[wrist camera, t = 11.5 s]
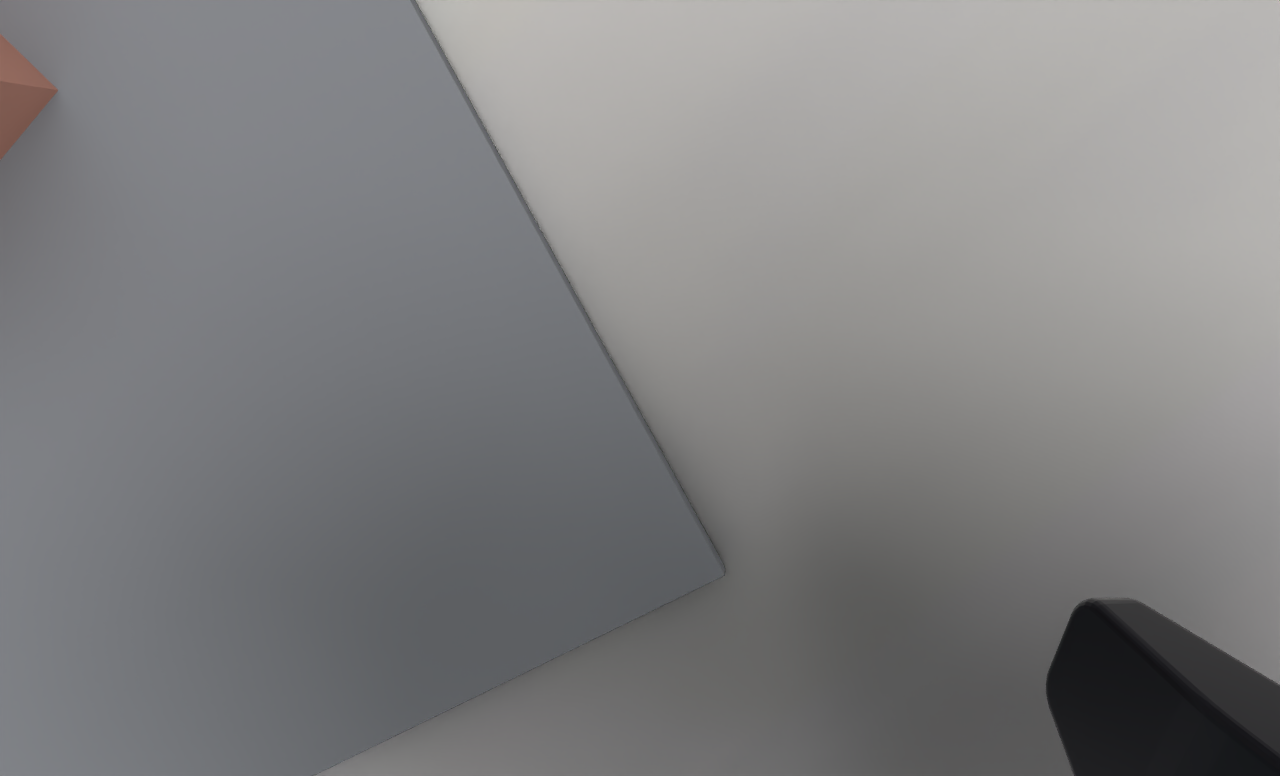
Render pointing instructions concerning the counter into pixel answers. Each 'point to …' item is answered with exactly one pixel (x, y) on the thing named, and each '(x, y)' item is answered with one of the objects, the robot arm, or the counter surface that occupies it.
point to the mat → (290, 400)
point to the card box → (19, 94)
